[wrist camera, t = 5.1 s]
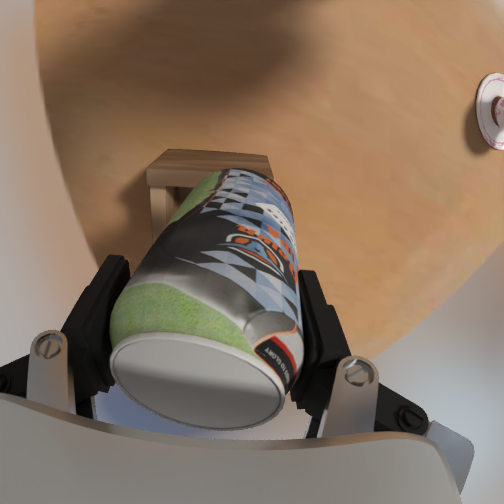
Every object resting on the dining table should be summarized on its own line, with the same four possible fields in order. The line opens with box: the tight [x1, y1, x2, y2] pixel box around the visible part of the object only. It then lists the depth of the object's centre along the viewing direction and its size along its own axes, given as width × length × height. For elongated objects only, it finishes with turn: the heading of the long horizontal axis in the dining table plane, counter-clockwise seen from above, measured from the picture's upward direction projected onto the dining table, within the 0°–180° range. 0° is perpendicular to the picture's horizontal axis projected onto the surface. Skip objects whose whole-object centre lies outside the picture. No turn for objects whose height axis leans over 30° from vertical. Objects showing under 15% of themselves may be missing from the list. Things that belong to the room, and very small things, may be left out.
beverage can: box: [109, 168, 305, 431], centre depth 12 cm, size 6×7×12 cm
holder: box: [146, 149, 274, 244], centre depth 30 cm, size 12×11×8 cm
